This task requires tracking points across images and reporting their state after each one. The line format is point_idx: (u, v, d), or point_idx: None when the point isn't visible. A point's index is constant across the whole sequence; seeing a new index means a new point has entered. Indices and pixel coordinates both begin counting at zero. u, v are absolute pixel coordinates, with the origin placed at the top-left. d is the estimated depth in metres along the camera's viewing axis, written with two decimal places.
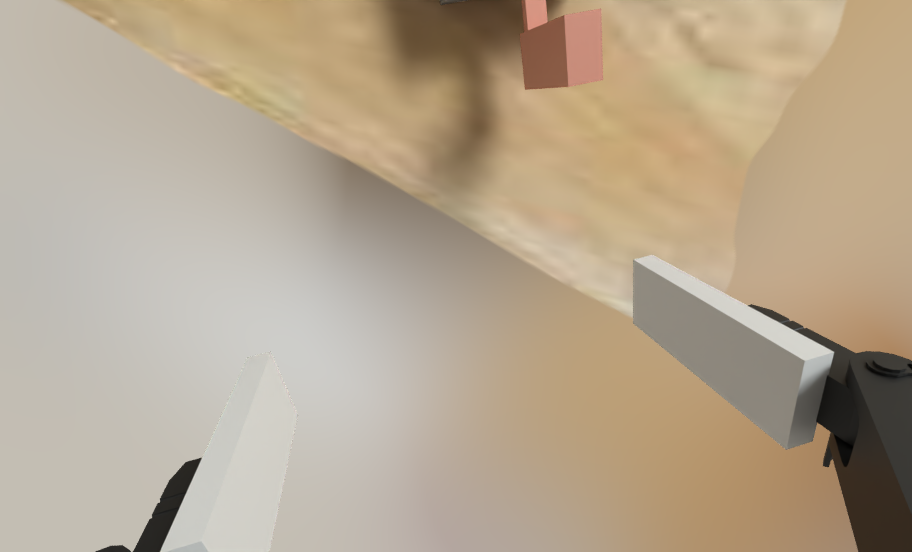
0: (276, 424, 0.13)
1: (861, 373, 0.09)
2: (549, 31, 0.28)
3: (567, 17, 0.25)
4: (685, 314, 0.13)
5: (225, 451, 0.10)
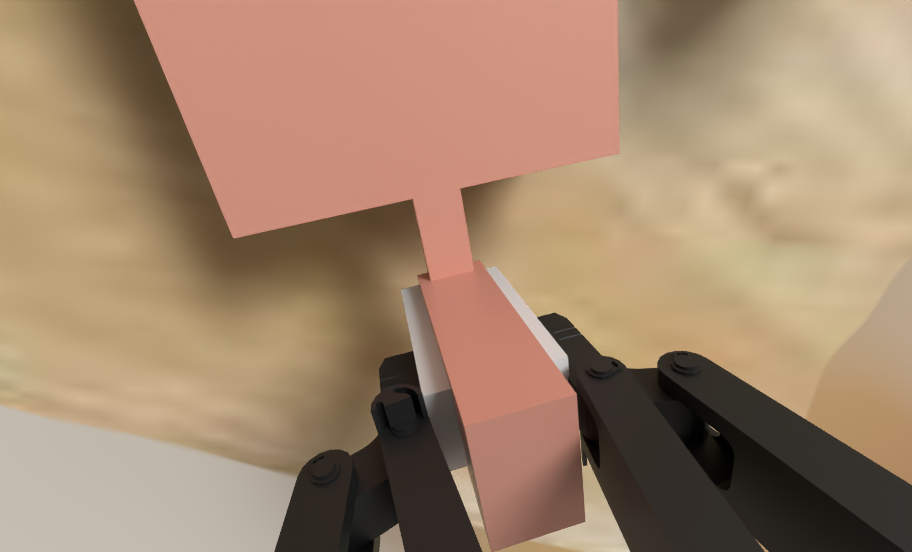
0: None
1: (586, 382, 0.10)
2: (448, 380, 0.11)
3: (474, 429, 0.08)
4: None
5: (429, 342, 0.13)
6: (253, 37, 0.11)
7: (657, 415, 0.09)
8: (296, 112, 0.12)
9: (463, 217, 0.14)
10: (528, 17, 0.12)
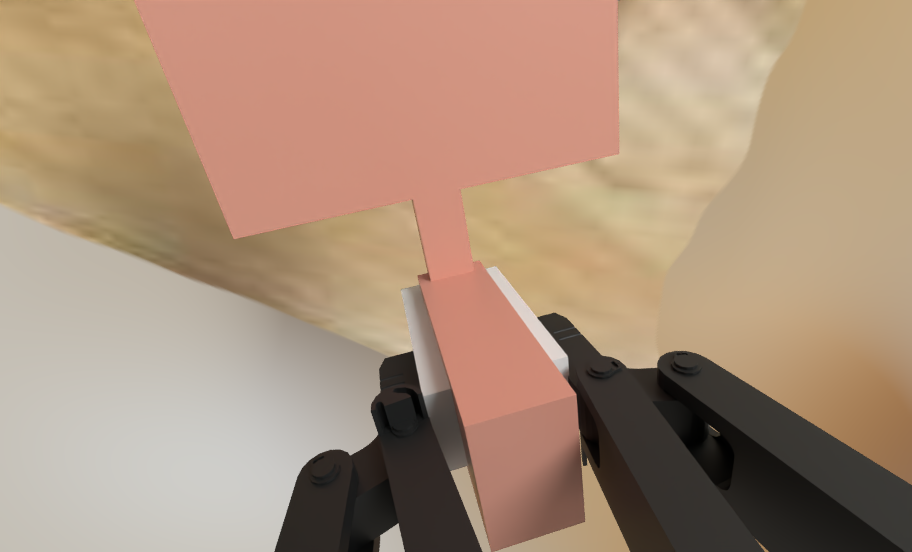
0: None
1: (586, 382, 0.10)
2: None
3: (475, 429, 0.08)
4: None
5: (429, 342, 0.13)
6: (253, 38, 0.11)
7: (657, 415, 0.09)
8: (296, 113, 0.12)
9: (463, 218, 0.14)
10: (528, 18, 0.12)
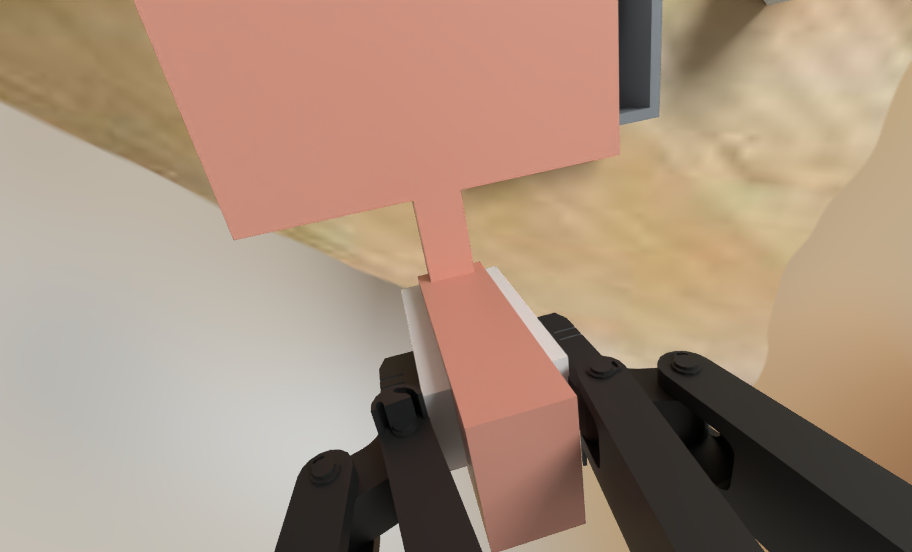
0: None
1: (586, 382, 0.10)
2: None
3: (475, 431, 0.08)
4: None
5: (429, 342, 0.13)
6: (254, 39, 0.11)
7: (657, 415, 0.09)
8: (297, 114, 0.12)
9: (463, 219, 0.14)
10: (528, 19, 0.12)
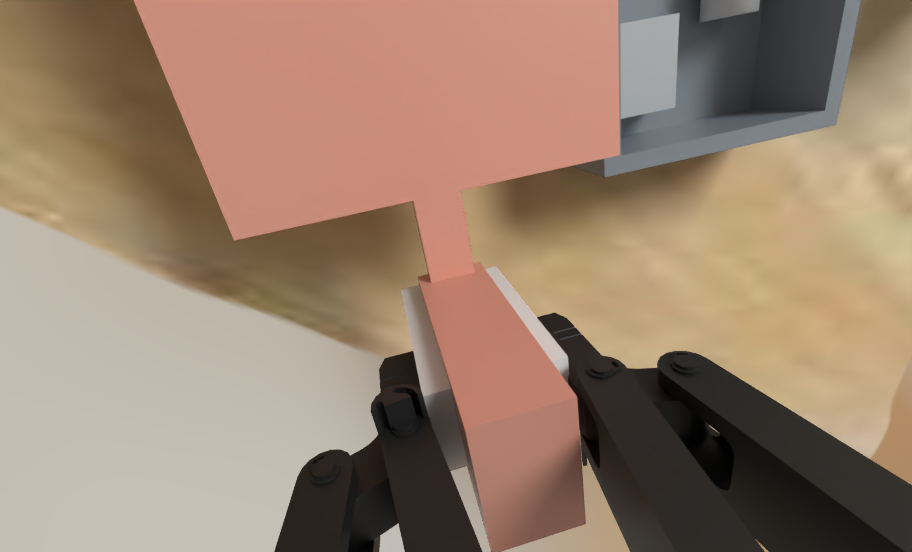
0: None
1: (586, 382, 0.10)
2: None
3: (475, 431, 0.08)
4: None
5: (429, 342, 0.13)
6: (254, 40, 0.11)
7: (657, 415, 0.09)
8: (297, 114, 0.12)
9: (463, 219, 0.14)
10: (528, 19, 0.12)
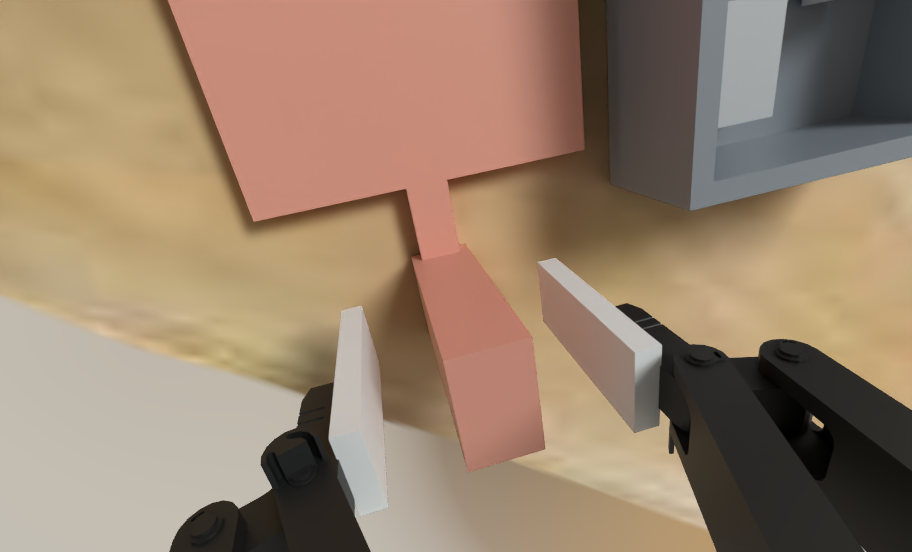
0: (372, 365, 0.15)
1: (683, 368, 0.10)
2: (433, 335, 0.13)
3: (451, 363, 0.11)
4: (570, 312, 0.14)
5: (353, 374, 0.12)
6: (273, 53, 0.14)
7: (759, 409, 0.08)
8: (308, 115, 0.14)
9: (450, 205, 0.17)
10: (502, 35, 0.15)
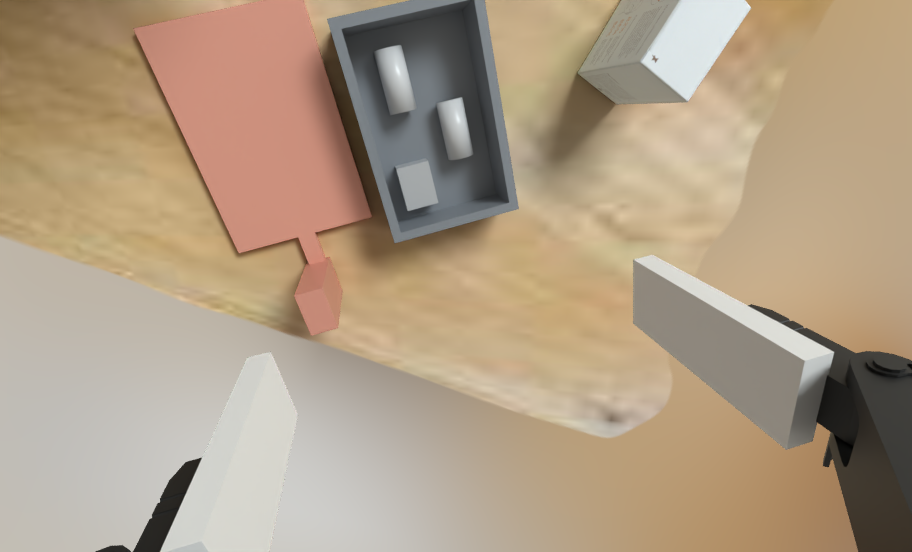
0: (276, 424, 0.13)
1: (861, 373, 0.09)
2: None
3: (297, 296, 0.35)
4: (685, 314, 0.13)
5: (225, 451, 0.10)
6: (241, 194, 0.38)
7: None
8: (256, 213, 0.39)
9: (317, 242, 0.41)
10: (327, 179, 0.39)
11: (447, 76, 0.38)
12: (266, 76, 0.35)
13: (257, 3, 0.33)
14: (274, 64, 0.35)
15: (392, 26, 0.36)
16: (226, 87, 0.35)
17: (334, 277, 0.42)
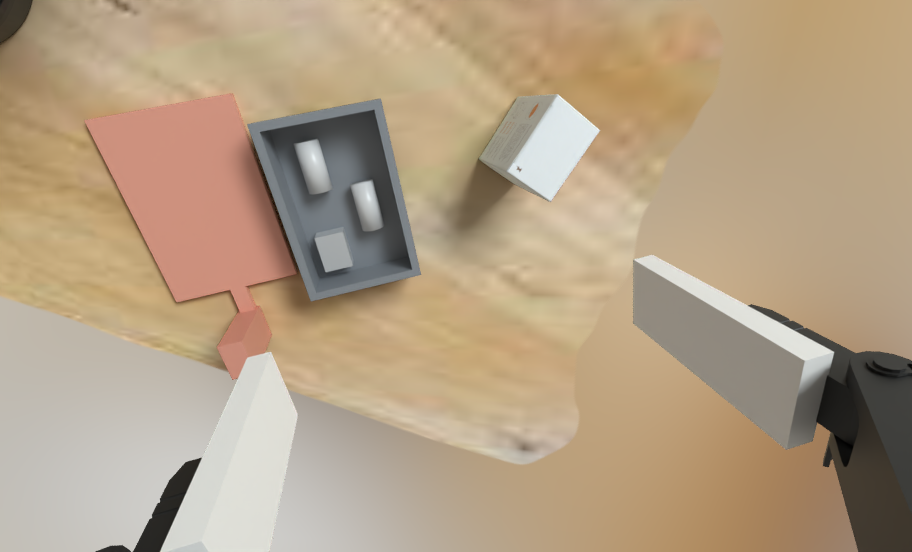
0: (276, 424, 0.13)
1: (861, 373, 0.09)
2: None
3: (219, 348, 0.41)
4: (685, 314, 0.13)
5: (225, 451, 0.10)
6: (179, 253, 0.44)
7: None
8: (192, 269, 0.45)
9: (247, 294, 0.47)
10: (256, 243, 0.45)
11: (361, 161, 0.44)
12: (201, 159, 0.41)
13: (193, 101, 0.39)
14: (208, 149, 0.41)
15: None
16: (165, 167, 0.41)
17: (262, 324, 0.48)
